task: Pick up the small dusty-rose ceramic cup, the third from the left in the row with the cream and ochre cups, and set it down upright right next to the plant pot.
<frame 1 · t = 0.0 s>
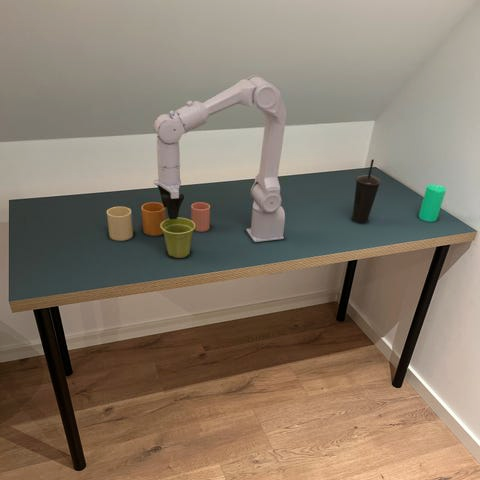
hand: (170, 212, 141), 10 cm above the table, tool pointing down, fingers open, 7 cm apart
candle: (427, 218, 171), on the table
rose cup: (200, 227, 157), on the table
ochre cup: (154, 230, 154), on the table
cream cup: (121, 235, 150), on the table
plant pot: (178, 253, 144), on the table
drinking cup: (359, 220, 167), on the table
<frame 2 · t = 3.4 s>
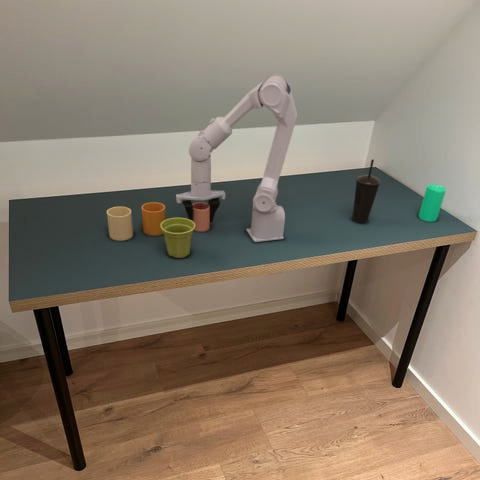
hand: (200, 222, 156), 2 cm above the table, tool pointing down, fingers closed on rose cup, 5 cm apart
rose cup: (200, 227, 157), on the table, touching gripper
everything else where it was.
when the fingers open (2 cm above the table, at t = 8.8 s): rose cup stays where it is, on the table.
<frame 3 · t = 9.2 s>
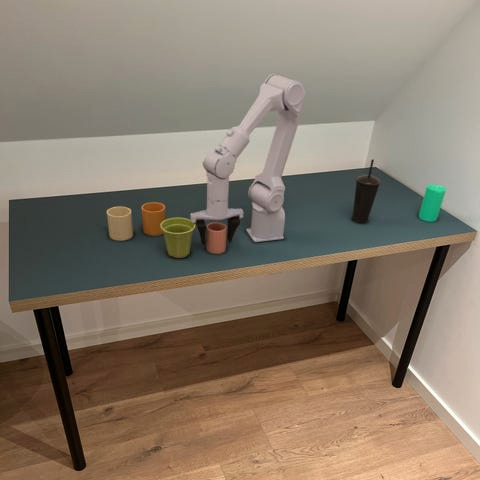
hand: (216, 242, 145), 2 cm above the table, tool pointing down, fingers open, 7 cm apart
rose cup: (216, 249, 147), on the table
everything else where it was.
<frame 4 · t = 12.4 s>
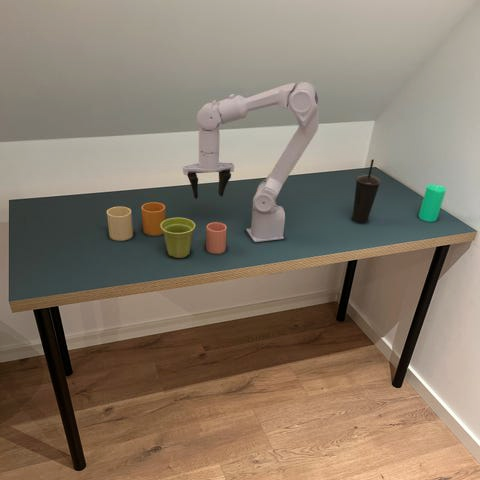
hand: (208, 196, 150), 10 cm above the table, tool pointing down, fingers open, 7 cm apart
nothing on the table moved.
at the end: rose cup 10.9 cm from the plant pot (horizontally); rose cup tilted 0°; the gripper is holding nothing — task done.
